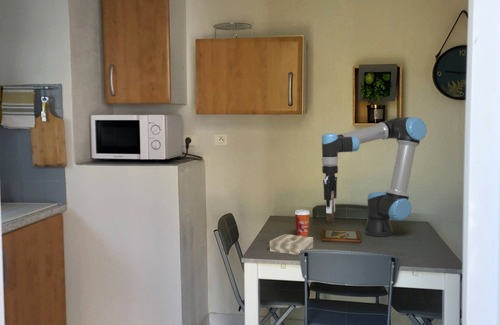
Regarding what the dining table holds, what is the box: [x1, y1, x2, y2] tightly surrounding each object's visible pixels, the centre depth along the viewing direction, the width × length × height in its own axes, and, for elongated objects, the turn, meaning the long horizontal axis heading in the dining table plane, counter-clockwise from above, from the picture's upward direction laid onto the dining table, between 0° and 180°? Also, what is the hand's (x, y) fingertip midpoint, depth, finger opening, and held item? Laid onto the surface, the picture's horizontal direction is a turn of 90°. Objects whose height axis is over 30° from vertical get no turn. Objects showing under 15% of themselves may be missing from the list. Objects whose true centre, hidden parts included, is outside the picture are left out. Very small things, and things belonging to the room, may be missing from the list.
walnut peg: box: [326, 190, 335, 223], centre depth 245 cm, size 4×4×15 cm
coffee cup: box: [294, 209, 311, 237], centre depth 266 cm, size 8×8×15 cm
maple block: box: [269, 233, 314, 256], centre depth 245 cm, size 16×16×5 cm
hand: (330, 212), depth 245 cm, fingers closed on walnut peg, 3 cm apart
